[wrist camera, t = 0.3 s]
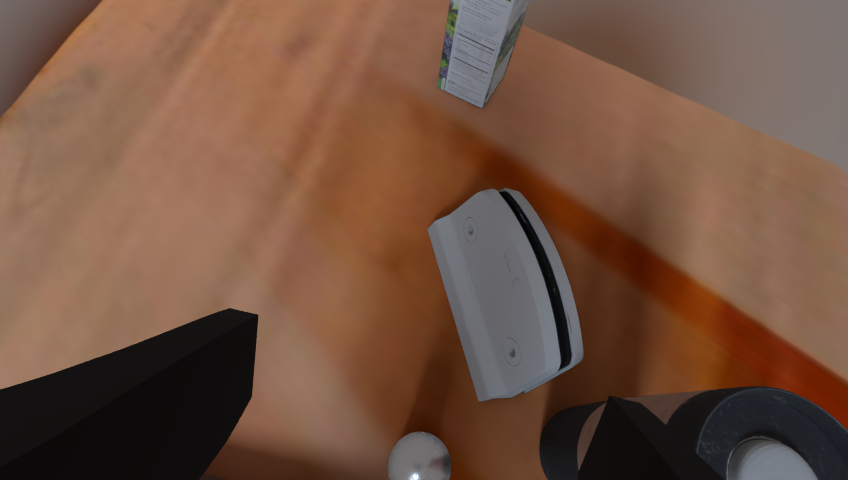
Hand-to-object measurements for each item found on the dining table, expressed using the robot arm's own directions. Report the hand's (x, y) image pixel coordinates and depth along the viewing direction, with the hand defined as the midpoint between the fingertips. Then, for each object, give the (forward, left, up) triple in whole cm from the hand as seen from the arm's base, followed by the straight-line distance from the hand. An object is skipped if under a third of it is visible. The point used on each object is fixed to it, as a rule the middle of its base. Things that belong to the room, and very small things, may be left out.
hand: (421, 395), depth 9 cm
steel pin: (-3, -2, -29) cm, 29 cm away
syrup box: (+35, 0, -29) cm, 46 cm away
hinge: (+11, -6, -29) cm, 32 cm away
